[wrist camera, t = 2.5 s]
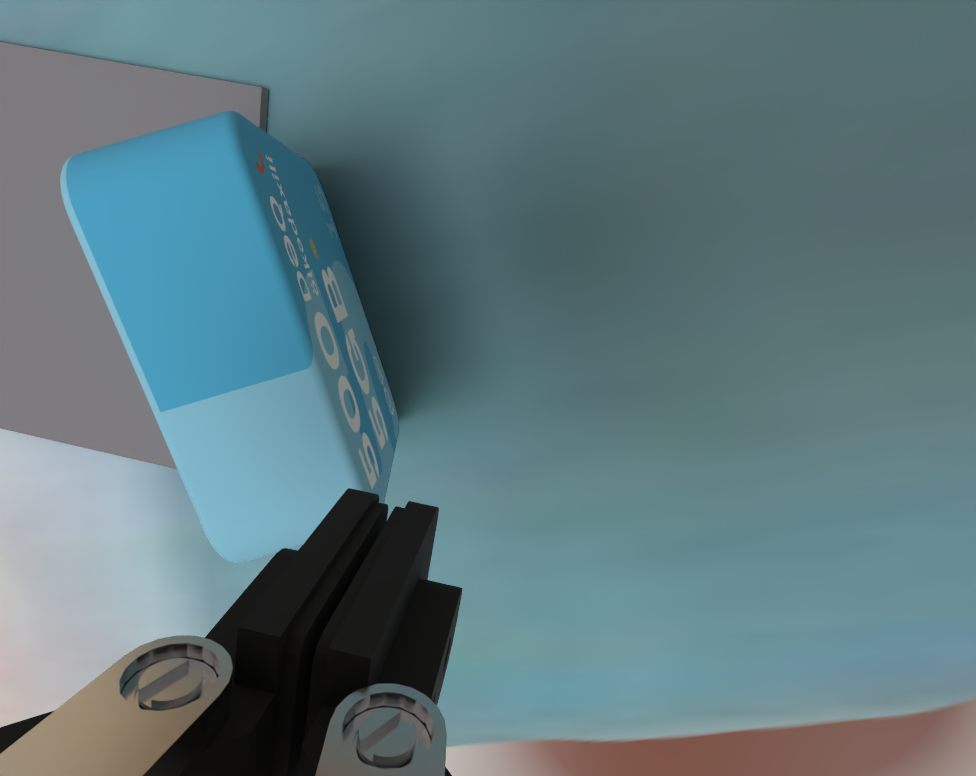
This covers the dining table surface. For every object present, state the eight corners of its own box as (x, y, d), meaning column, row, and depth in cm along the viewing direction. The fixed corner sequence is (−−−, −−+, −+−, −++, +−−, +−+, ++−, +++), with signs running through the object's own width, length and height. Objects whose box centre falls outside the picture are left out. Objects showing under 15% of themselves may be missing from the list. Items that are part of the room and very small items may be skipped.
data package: (402, 424, 29) (380, 540, 17) (310, 452, 29) (224, 587, 17) (315, 164, 26) (219, 93, 14) (212, 194, 26) (32, 146, 14)
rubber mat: (268, 90, 26) (261, 87, 25) (244, 478, 31) (238, 483, 30) (-36, 37, 27) (-49, 33, 26) (-9, 420, 32) (-19, 423, 32)
